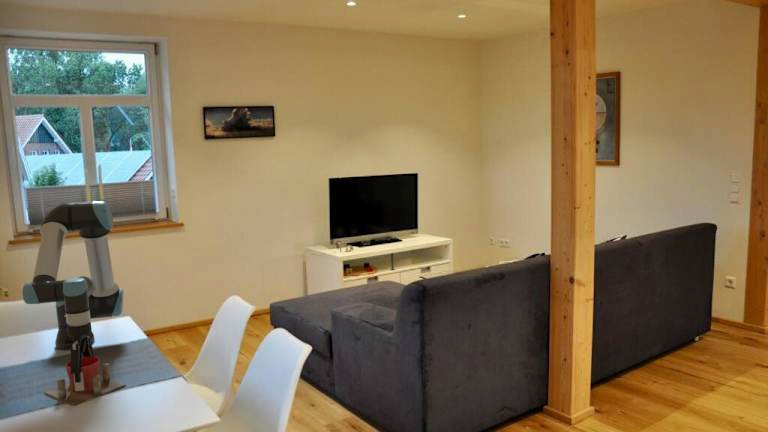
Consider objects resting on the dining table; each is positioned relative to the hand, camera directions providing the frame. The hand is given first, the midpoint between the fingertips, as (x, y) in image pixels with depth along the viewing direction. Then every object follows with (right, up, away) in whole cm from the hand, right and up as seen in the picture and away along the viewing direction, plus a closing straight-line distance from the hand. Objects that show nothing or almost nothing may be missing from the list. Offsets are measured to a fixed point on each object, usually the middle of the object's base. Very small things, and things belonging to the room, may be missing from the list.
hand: (85, 383), depth 217 cm
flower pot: (0, -2, 0) cm, 2 cm away
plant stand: (0, -2, 0) cm, 2 cm away
